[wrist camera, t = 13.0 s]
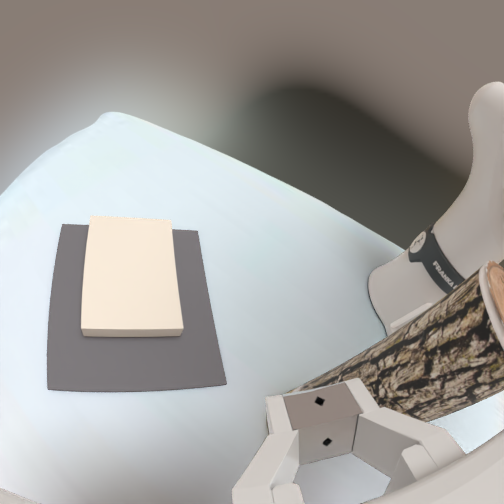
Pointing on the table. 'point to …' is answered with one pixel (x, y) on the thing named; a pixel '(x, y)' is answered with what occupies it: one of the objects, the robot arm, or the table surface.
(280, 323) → the table surface
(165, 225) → the tile
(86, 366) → the mat
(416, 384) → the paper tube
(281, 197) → the table surface
